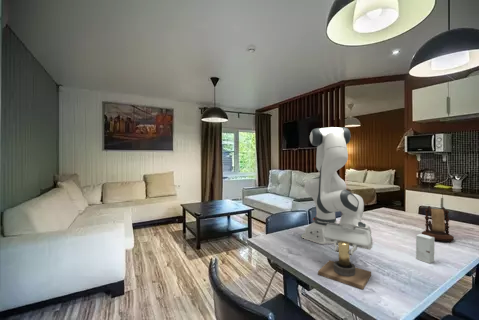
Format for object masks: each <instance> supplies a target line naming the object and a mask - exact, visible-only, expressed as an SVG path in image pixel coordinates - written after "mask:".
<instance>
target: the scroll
mask: <svg viewBox="0 0 479 320" xmlns="http://www.w3.org/2000/svg"><path fill="white" fill-rule="evenodd" d="M424 212H425V216H424V219H425V224H424V225H425V230H423V231H422V232H421V234H424V235H428V236H431V237H434V238H435V240H437V241H443V242H444V241H445V242H449V243H452V241H454V239H455V238H454V235H451V233H450V229H449V228H450V225H449V224H450V223H449V222H450V218H449V213H450V211H449V210H447V209H446V208H445V207H444V206H442V207H441V209H440V208H431V205H428V206H427V208H425V209H424Z"/></svg>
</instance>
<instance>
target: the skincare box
mask: <svg viewBox="0 0 479 320" xmlns="http://www.w3.org/2000/svg"><path fill="white" fill-rule="evenodd" d="M415 239H416V240H415V241H416V242H415V259H416V260H419V261H422V262H425V263H427V264H432V263H434V262H435V245H436V244H435V240H436V239H435V238H434V237H431V236H428V235H424V234H422V233H419V234H416V235H415Z"/></svg>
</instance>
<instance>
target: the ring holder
mask: <svg viewBox="0 0 479 320" xmlns="http://www.w3.org/2000/svg"><path fill="white" fill-rule="evenodd" d="M317 275H318V276H322V277H325V278H326V279H327V278H328V279H329V280H334V281H336V282H340V283H342V284H345V285H347V286H351V287H354V288H357V289H360V290H364V288H365V287H366V285H367V284H368V282H369V280H370V278H371V276H372V271H369V270H366V269H363V268H359V267H356V265H355V263H352V262H351V261H350V265H349V266H343V265H340V264H339V259H338V260H335V261H334V260H331V259H329V260H328V261H327V262H326V263H325V264H324V265H323V266H321V267H320V269H319V270H318V271H317Z"/></svg>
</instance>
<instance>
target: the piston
mask: <svg viewBox="0 0 479 320" xmlns="http://www.w3.org/2000/svg"><path fill="white" fill-rule="evenodd" d="M337 247H338V251H339V252H338V260H339V264H340V265H343V266H349V265H350V262H351V259H350V258H351V257H350V256H351V255H349V250H350V245H349V243H348V242H343V241H340V242H338V245H337Z"/></svg>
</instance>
